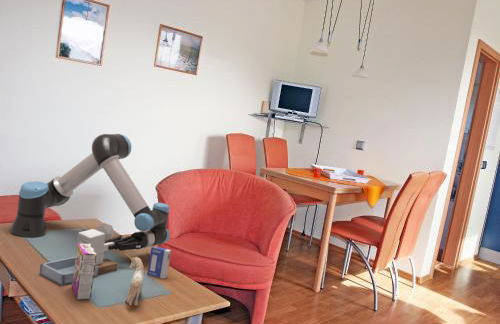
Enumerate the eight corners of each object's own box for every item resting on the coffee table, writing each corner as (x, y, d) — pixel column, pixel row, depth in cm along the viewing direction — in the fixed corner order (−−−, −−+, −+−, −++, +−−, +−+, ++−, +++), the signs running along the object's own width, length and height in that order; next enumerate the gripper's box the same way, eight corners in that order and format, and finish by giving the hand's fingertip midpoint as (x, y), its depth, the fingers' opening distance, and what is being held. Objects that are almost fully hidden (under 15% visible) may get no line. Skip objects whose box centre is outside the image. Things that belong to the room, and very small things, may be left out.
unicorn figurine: (138, 287, 173) (143, 253, 172) (148, 310, 156) (154, 273, 154) (119, 286, 170) (124, 252, 169) (126, 310, 153) (132, 272, 151)
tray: (39, 274, 169) (40, 263, 168) (75, 265, 183) (76, 256, 182) (61, 285, 162) (63, 275, 162) (97, 276, 176) (98, 266, 176)
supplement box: (91, 257, 185) (93, 228, 183) (103, 263, 181) (105, 233, 179) (75, 262, 179) (77, 232, 177) (88, 268, 175) (90, 237, 173)
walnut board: (77, 265, 183) (78, 258, 182) (96, 261, 191) (97, 254, 191) (97, 275, 177) (98, 268, 176) (116, 270, 185) (117, 263, 185)
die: (116, 242, 223) (114, 223, 227) (111, 237, 215) (109, 218, 219) (99, 245, 222) (98, 227, 226) (94, 241, 214) (92, 222, 218)
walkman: (146, 274, 187) (151, 246, 186) (149, 272, 190) (154, 245, 188) (164, 279, 185) (169, 251, 184) (167, 277, 188) (171, 249, 187)
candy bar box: (70, 286, 163) (77, 243, 161) (85, 286, 165) (91, 243, 164) (75, 300, 153) (82, 253, 152) (90, 299, 156) (97, 253, 154)
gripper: (151, 252, 200) (110, 262, 179) (130, 243, 206) (88, 252, 186) (154, 235, 199) (113, 243, 179) (132, 227, 205) (90, 234, 185)
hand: (100, 248), depth 182 cm, fingers closed
